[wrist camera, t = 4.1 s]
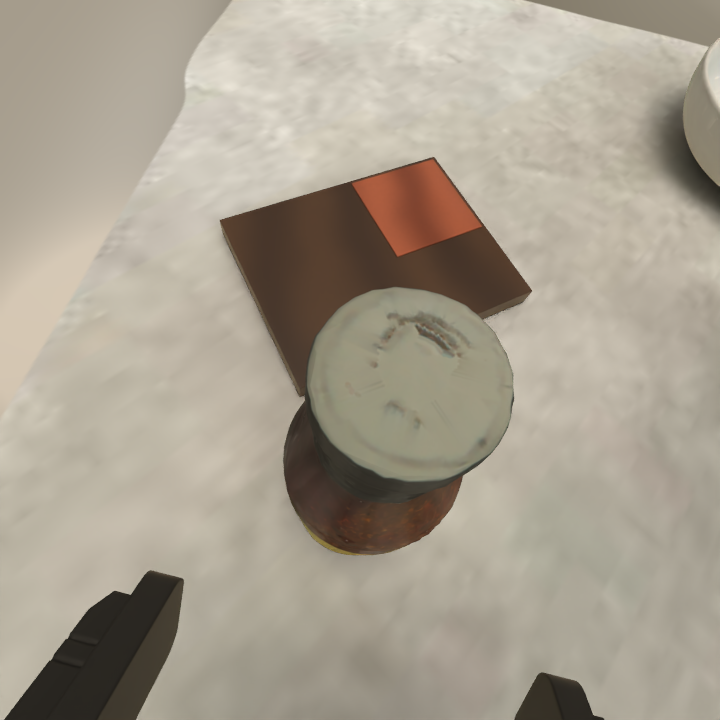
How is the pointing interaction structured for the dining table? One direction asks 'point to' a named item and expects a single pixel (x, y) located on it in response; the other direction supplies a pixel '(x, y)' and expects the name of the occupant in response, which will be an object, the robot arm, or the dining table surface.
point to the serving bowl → (705, 113)
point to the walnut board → (366, 253)
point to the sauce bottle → (394, 418)
